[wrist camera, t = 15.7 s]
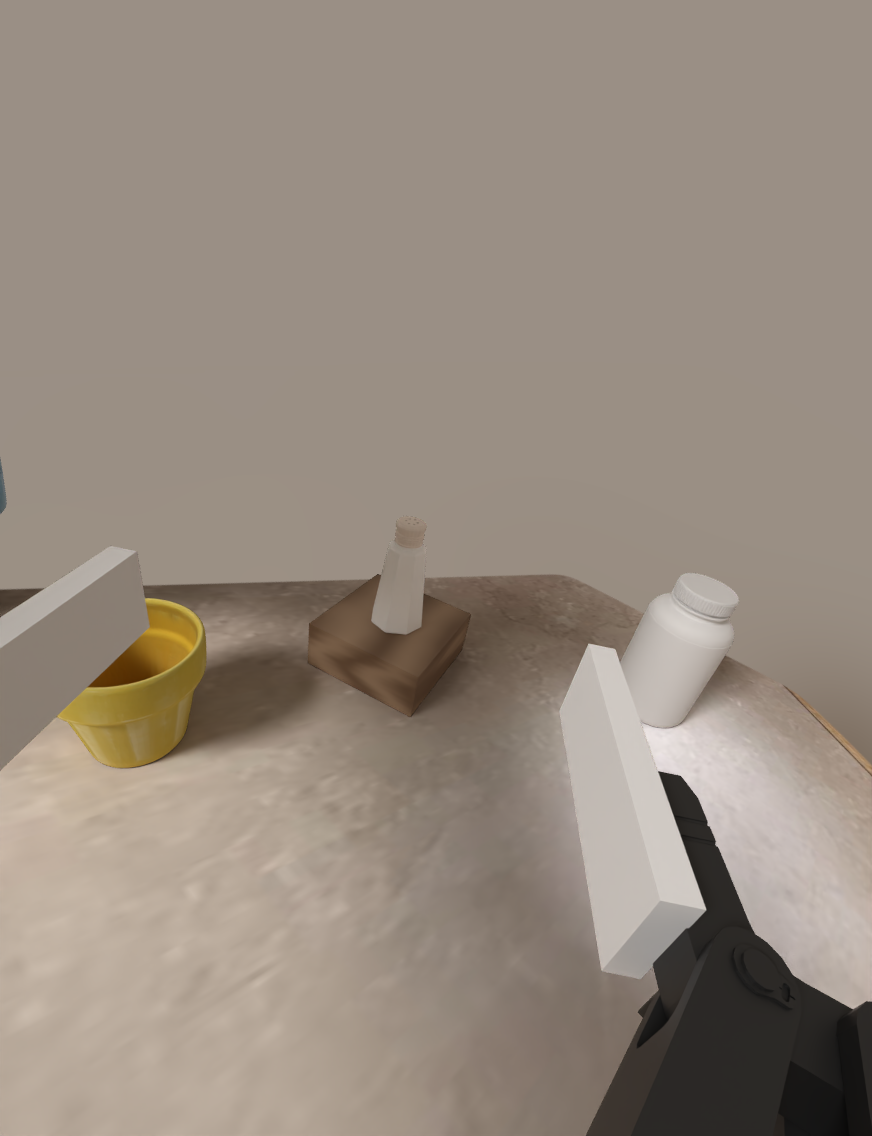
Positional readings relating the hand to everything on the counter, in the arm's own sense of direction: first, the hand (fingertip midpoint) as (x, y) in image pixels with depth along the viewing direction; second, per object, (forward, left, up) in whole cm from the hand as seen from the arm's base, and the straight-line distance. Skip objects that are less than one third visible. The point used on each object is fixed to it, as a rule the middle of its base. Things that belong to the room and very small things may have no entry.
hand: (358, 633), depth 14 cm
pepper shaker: (-11, +26, -20) cm, 35 cm away
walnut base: (-11, +26, -25) cm, 38 cm away
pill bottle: (+15, +37, -25) cm, 47 cm away
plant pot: (-22, +6, -25) cm, 34 cm away
